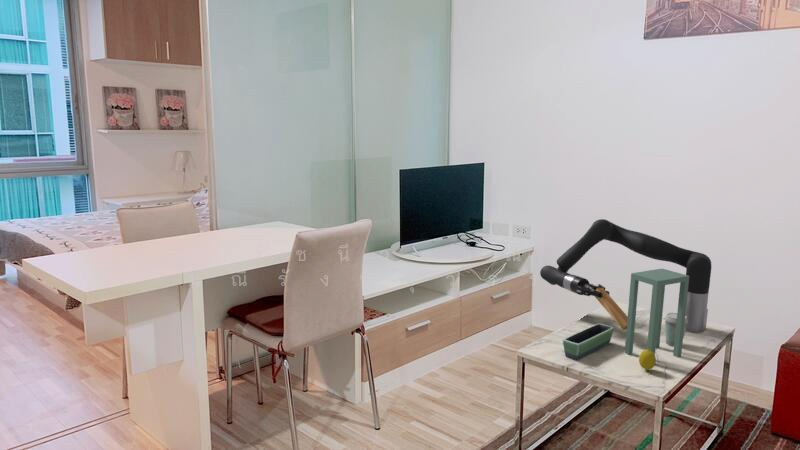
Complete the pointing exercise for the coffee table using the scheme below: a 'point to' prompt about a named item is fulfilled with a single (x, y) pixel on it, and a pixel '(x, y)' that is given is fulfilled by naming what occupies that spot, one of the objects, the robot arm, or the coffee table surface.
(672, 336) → the coffee cup
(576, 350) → the planter
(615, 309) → the block
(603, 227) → the robot arm
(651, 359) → the lemon
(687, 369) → the coffee table surface
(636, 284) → the tall green stool
